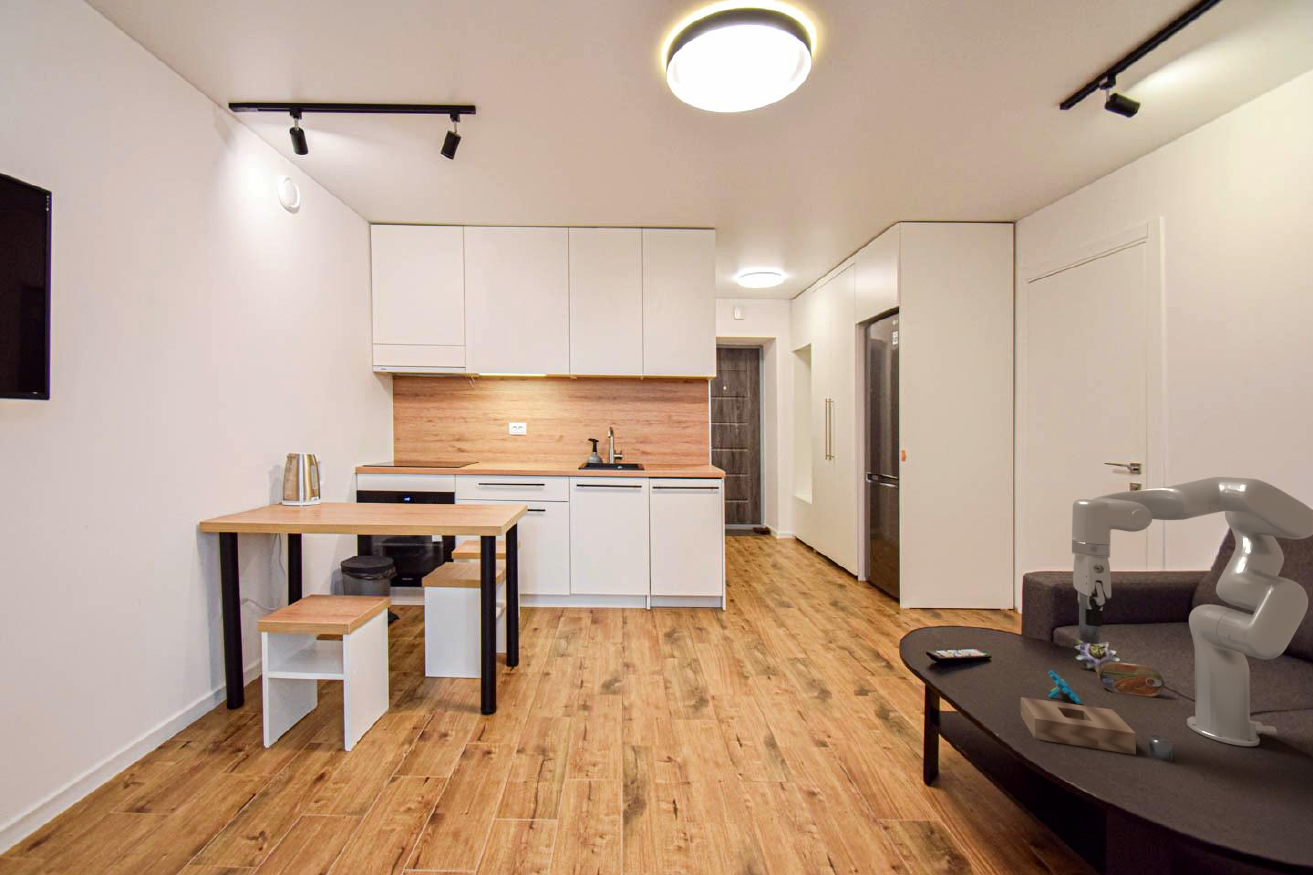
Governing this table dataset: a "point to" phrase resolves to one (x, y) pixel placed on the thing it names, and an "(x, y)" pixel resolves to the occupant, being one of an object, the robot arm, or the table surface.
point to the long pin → (1085, 631)
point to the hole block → (1078, 725)
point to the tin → (1130, 679)
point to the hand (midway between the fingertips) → (1089, 621)
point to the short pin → (1160, 748)
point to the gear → (1062, 688)
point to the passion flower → (1095, 654)
